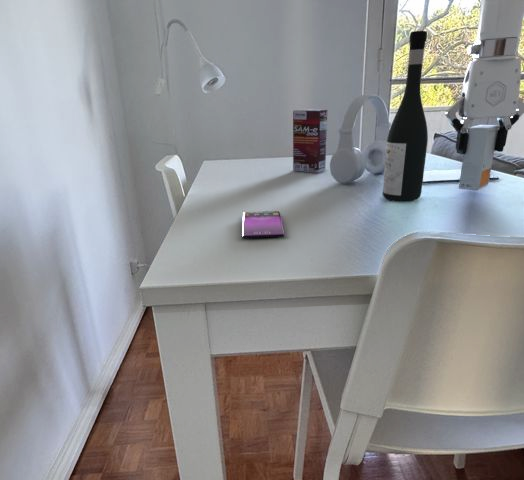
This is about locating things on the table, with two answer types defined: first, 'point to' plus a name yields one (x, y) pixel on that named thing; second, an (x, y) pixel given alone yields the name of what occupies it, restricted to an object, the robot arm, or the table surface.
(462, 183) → the cosmetic box
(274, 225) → the smartphone
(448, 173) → the mat
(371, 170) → the headphones
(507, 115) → the robot arm
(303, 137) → the supplement box
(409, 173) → the wine bottle
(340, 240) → the table surface
